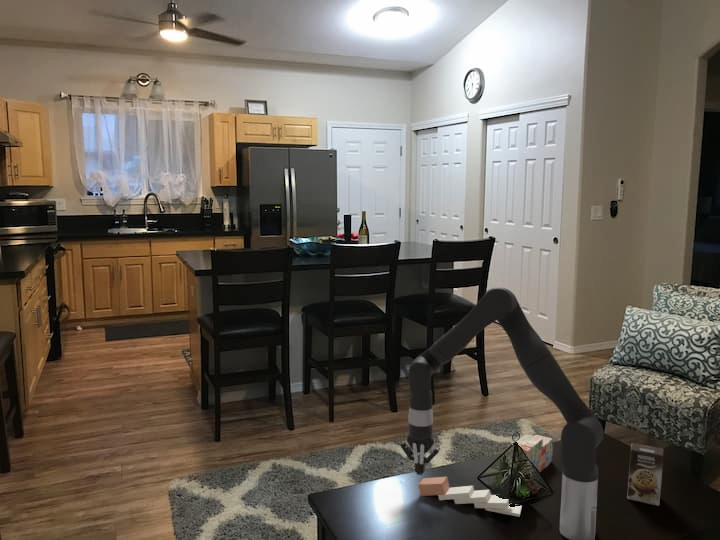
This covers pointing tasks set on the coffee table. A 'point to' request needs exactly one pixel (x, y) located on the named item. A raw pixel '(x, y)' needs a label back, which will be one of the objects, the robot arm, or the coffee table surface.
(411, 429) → the robot arm
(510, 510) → the domino
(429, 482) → the domino
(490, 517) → the coffee table surface
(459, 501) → the domino
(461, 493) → the domino
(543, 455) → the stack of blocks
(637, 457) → the brown cookie box
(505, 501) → the domino
